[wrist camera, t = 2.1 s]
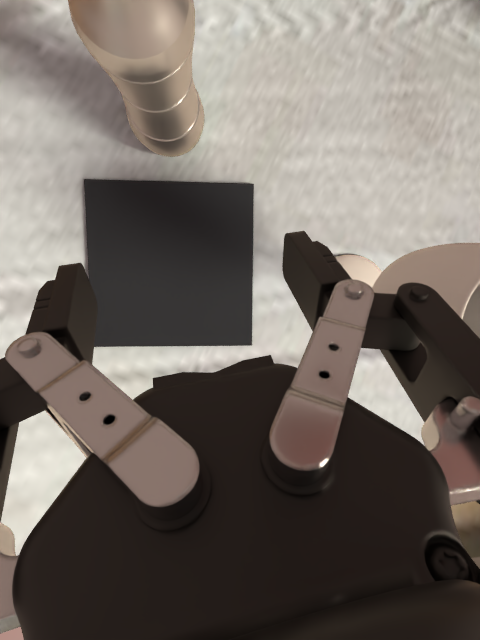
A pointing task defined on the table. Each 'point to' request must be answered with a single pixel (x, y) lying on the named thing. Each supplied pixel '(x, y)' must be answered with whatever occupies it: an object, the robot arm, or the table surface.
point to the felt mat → (170, 262)
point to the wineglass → (429, 276)
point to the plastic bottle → (147, 65)
